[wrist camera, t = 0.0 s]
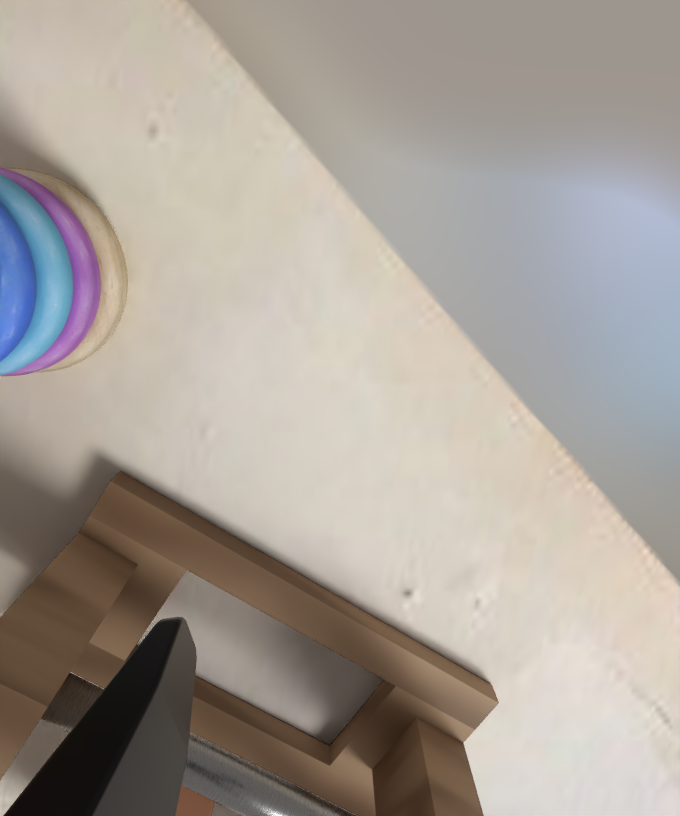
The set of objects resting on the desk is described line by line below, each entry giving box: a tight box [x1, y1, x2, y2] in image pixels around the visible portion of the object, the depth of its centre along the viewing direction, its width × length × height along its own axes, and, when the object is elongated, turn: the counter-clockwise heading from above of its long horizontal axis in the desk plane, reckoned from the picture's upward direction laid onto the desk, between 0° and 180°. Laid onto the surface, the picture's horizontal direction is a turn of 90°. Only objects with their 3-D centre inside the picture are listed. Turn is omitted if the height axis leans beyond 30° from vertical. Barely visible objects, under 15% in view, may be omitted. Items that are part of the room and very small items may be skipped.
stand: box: [0, 471, 499, 816], centre depth 23 cm, size 10×22×10 cm, turn 56°
